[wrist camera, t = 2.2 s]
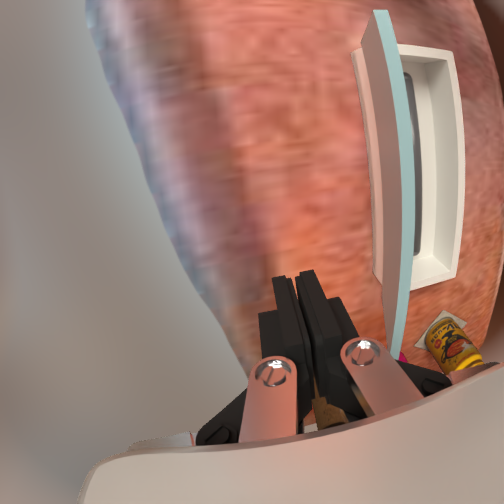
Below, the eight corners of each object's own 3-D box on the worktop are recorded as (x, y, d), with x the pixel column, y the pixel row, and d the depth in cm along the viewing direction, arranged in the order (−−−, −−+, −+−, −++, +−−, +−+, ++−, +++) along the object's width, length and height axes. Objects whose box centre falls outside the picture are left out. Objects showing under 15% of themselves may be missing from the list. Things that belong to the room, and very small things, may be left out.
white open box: (350, 52, 21) (371, 42, 17) (424, 56, 21) (452, 51, 16) (372, 272, 32) (389, 296, 27) (434, 257, 31) (455, 277, 27)
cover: (370, 42, 17) (360, 42, 17) (387, 9, 9) (373, 9, 10) (388, 296, 27) (381, 296, 28) (397, 362, 20) (388, 363, 20)
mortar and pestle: (338, 344, 37) (378, 461, 20) (342, 372, 39) (374, 477, 23) (291, 357, 37) (312, 479, 21) (299, 384, 40) (318, 492, 24)
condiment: (442, 309, 35) (484, 363, 25) (466, 321, 37) (503, 369, 26) (412, 345, 38) (445, 402, 27) (440, 353, 40) (470, 403, 29)
